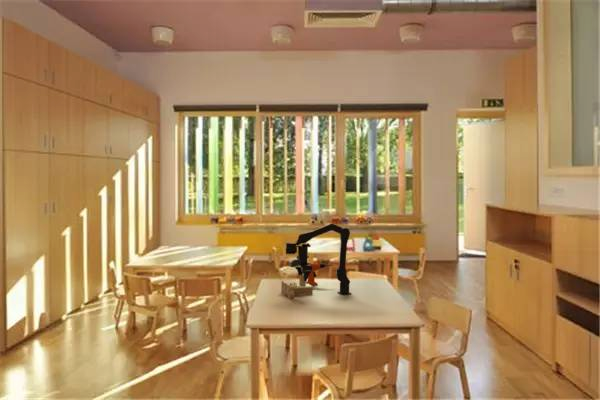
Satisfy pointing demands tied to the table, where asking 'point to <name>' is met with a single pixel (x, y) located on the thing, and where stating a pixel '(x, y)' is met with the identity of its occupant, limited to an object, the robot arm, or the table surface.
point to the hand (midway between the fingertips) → (302, 280)
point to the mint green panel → (302, 283)
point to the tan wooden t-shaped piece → (294, 290)
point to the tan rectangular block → (293, 285)
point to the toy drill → (312, 274)
